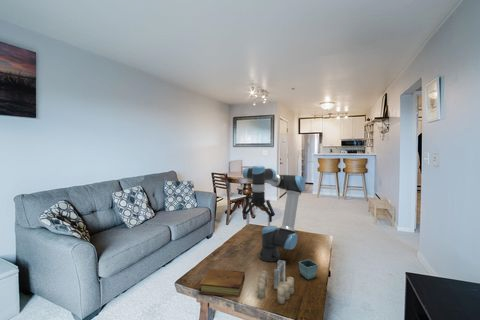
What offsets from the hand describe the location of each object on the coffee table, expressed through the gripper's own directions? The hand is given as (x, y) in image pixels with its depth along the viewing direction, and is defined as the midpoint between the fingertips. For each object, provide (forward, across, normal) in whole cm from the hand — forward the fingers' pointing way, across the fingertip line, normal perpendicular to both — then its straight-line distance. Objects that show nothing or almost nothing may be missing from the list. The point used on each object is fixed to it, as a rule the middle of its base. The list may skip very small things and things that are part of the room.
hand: (258, 226), depth 142 cm
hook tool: (+35, +12, +9) cm, 38 cm away
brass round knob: (+35, +12, +2) cm, 37 cm away
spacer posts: (+35, +12, -8) cm, 38 cm away
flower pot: (+35, +27, +20) cm, 49 cm away
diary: (+36, -18, -11) cm, 41 cm away
